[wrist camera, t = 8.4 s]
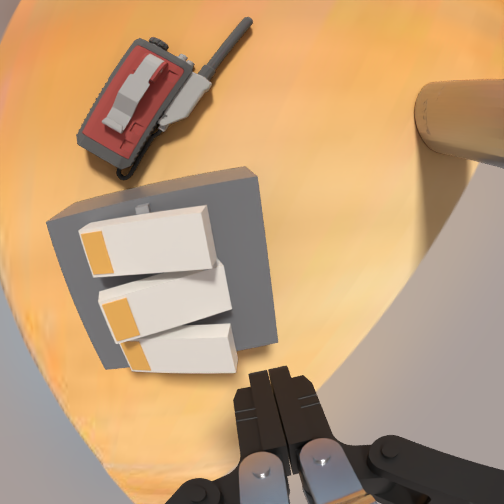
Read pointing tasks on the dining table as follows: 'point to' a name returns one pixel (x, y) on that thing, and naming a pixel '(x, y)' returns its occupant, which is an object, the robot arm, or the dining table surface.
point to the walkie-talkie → (146, 99)
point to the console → (227, 251)
